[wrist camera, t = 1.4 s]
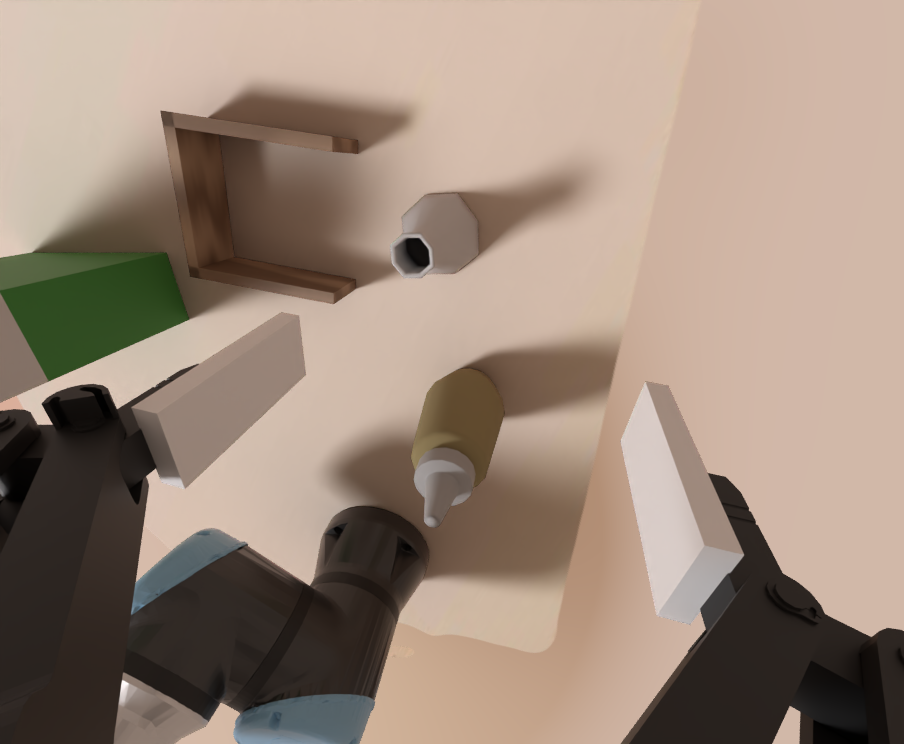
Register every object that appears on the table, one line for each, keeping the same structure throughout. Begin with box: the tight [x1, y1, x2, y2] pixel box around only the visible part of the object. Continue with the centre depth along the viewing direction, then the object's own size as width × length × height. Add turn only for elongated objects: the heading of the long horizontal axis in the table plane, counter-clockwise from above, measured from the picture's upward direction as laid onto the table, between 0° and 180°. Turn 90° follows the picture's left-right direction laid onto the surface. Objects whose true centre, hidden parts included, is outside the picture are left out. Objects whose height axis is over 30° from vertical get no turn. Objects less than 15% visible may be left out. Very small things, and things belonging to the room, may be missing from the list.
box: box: [161, 111, 358, 304], centre depth 35 cm, size 13×14×5 cm
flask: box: [390, 193, 479, 278], centre depth 32 cm, size 7×7×10 cm
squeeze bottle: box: [411, 368, 505, 527], centre depth 35 cm, size 8×8×18 cm
